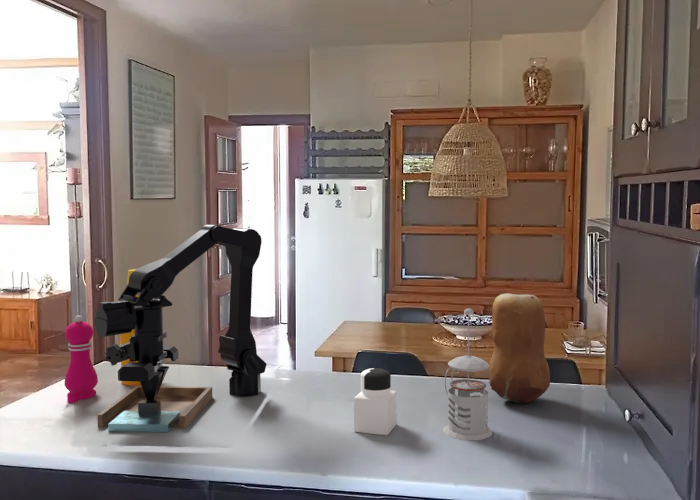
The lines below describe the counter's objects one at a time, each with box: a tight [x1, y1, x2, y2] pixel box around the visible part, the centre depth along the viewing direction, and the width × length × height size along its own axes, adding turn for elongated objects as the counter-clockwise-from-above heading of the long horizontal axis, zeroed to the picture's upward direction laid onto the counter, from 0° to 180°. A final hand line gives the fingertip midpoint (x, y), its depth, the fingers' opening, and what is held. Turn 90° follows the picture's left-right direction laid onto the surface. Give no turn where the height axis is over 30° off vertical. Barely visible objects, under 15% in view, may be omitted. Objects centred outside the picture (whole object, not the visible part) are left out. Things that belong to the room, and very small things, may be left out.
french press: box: [443, 308, 493, 441], centre depth 133 cm, size 10×12×25 cm
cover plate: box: [107, 400, 181, 433], centre depth 135 cm, size 12×8×4 cm, turn 87°
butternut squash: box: [488, 292, 551, 405], centre depth 151 cm, size 14×13×25 cm
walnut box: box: [96, 385, 214, 430], centre depth 143 cm, size 18×20×4 cm
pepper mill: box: [64, 314, 99, 405], centre depth 154 cm, size 7×7×20 cm
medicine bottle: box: [353, 367, 398, 436], centre depth 135 cm, size 7×7×12 cm
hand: (150, 402), depth 139 cm, fingers closed
